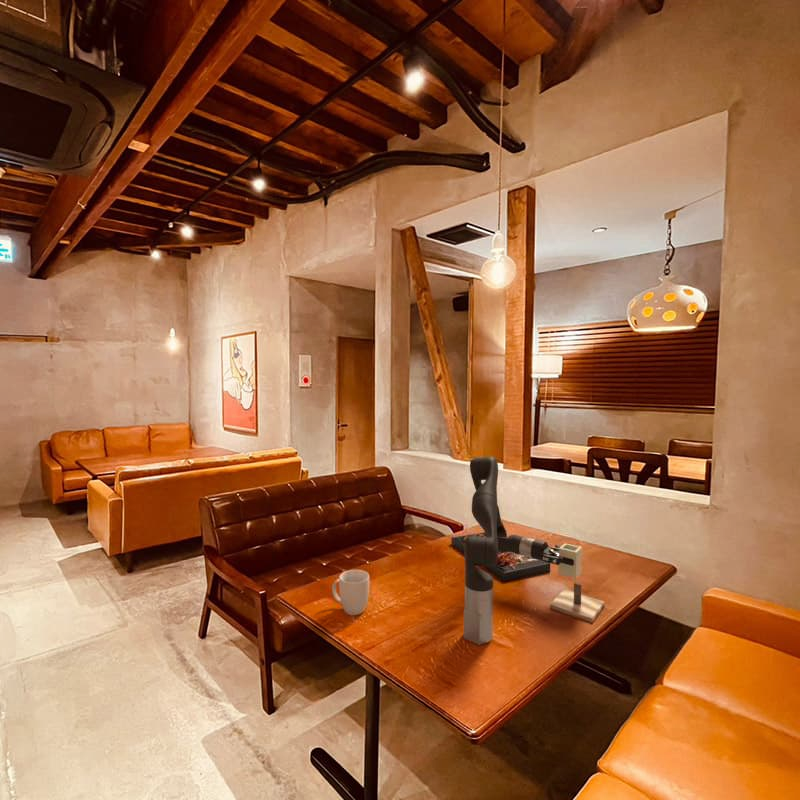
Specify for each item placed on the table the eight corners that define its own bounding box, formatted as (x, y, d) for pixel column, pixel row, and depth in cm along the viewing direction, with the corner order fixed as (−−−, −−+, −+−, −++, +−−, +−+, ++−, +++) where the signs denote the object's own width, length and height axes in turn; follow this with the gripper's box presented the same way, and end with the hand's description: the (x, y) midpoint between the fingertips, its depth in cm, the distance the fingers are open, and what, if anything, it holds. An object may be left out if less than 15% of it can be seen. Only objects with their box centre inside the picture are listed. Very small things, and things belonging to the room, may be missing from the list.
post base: (592, 622, 152) (592, 598, 152) (549, 608, 162) (550, 585, 161) (604, 605, 163) (604, 583, 163) (564, 592, 173) (564, 572, 173)
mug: (324, 612, 159) (324, 577, 158) (340, 598, 169) (340, 565, 168) (360, 621, 153) (360, 585, 152) (374, 606, 163) (374, 572, 162)
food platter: (550, 573, 192) (550, 550, 192) (504, 583, 183) (504, 559, 182) (491, 538, 234) (491, 519, 233) (451, 545, 224) (451, 525, 224)
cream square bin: (575, 579, 159) (576, 552, 159) (558, 574, 163) (558, 548, 163) (581, 573, 164) (582, 547, 164) (564, 568, 168) (564, 543, 168)
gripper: (526, 544, 167) (570, 556, 156) (540, 534, 178) (583, 544, 167) (526, 563, 167) (570, 576, 157) (540, 552, 178) (582, 563, 168)
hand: (576, 559), depth 162 cm, fingers closed on cream square bin, 6 cm apart
